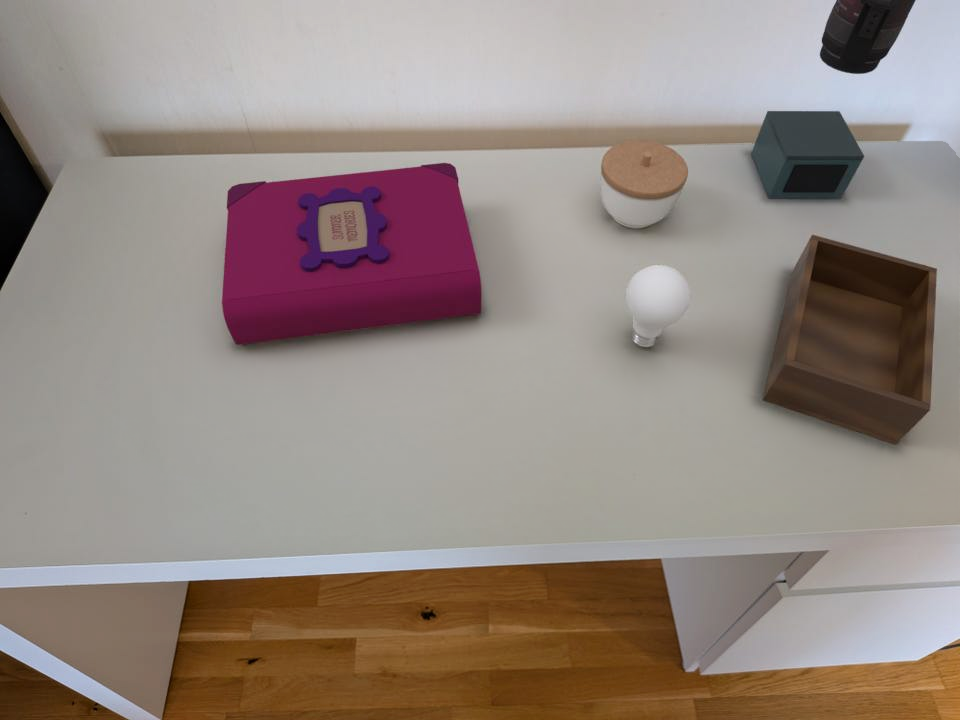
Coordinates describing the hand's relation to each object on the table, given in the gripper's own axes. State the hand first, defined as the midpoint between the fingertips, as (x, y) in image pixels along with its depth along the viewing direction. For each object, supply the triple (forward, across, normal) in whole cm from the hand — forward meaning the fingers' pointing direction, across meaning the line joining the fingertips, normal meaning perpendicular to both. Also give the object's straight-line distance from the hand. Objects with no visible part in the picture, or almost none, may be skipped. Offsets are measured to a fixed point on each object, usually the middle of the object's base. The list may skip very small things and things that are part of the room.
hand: (855, 42), depth 81 cm
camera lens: (+2, 0, 0) cm, 2 cm away
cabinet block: (+19, 0, 0) cm, 19 cm away
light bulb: (+20, +38, -12) cm, 44 cm away
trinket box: (+20, +17, -19) cm, 32 cm away
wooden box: (+19, +30, +9) cm, 37 cm away
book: (+20, +42, -47) cm, 66 cm away
